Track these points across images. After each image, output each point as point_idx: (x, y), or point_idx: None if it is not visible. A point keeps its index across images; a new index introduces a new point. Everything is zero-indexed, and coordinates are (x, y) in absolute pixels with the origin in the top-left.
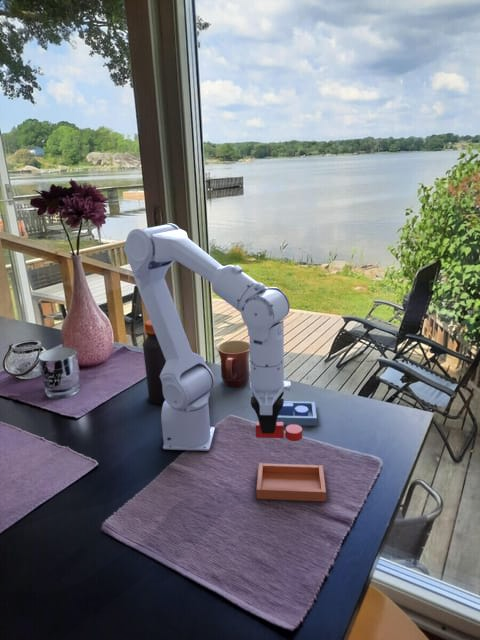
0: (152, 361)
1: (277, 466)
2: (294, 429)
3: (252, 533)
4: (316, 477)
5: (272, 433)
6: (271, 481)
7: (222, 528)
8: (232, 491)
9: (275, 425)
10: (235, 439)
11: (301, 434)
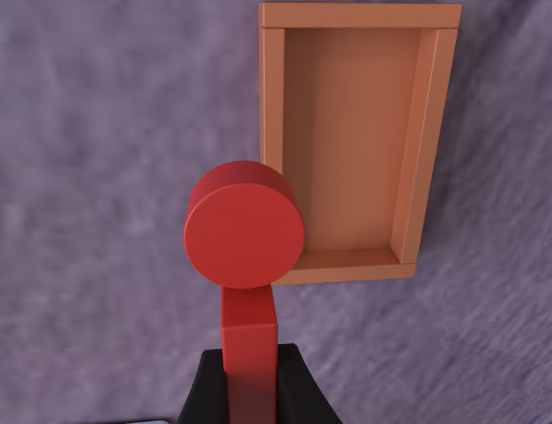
0: None
1: None
2: (253, 235)
3: (534, 251)
4: (301, 37)
5: (296, 348)
6: (327, 221)
7: (501, 322)
8: (361, 323)
9: (315, 382)
10: (73, 360)
11: (271, 178)
